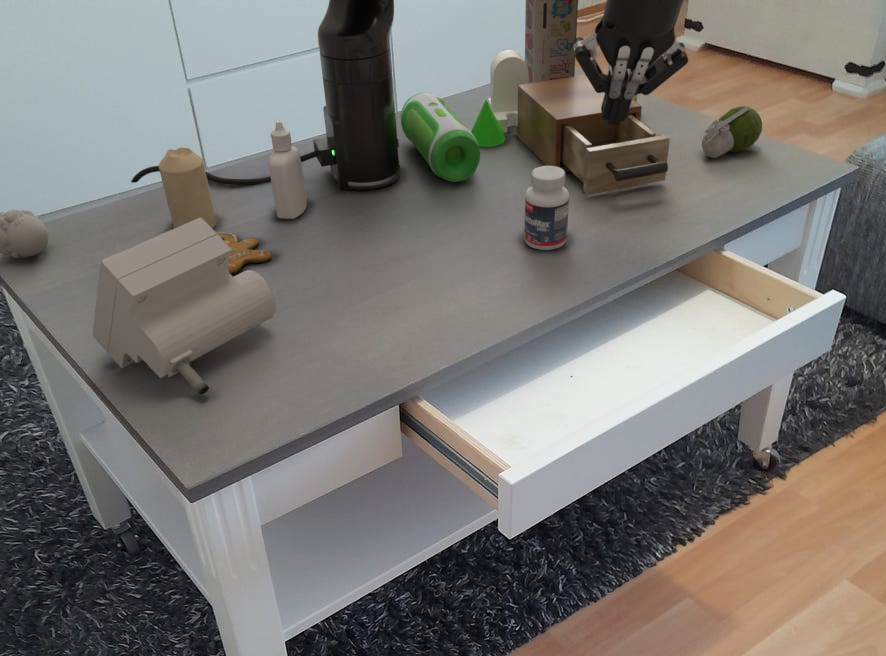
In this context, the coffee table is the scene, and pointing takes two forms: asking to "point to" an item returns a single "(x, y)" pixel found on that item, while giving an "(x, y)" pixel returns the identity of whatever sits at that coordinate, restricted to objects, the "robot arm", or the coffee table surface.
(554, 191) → the pill bottle
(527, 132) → the wooden mini dresser
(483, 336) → the coffee table surface
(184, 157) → the candle
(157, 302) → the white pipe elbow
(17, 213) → the beige rounded lump
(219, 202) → the coffee table surface
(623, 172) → the dresser drawer
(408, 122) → the speaker
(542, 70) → the juice carton
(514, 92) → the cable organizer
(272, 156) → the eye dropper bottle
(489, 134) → the gemstone
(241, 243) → the cookie
